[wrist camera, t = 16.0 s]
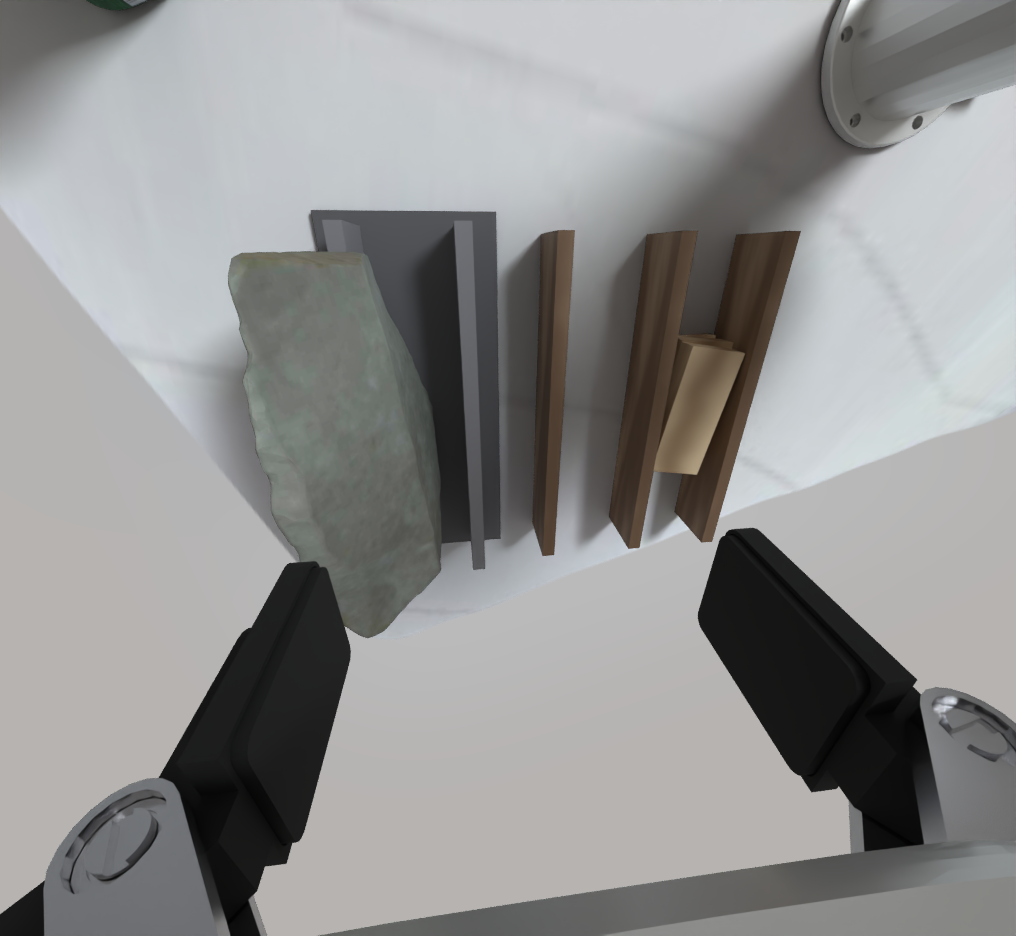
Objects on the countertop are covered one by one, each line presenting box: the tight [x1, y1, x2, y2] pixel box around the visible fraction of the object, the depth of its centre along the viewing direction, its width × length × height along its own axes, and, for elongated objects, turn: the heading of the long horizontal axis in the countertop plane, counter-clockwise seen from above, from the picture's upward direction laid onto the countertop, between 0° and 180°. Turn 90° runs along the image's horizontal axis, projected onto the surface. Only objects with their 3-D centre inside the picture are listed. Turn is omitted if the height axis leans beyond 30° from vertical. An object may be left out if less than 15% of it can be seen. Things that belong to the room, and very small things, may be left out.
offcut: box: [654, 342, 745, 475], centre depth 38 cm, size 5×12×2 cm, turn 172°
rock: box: [228, 251, 442, 638], centre depth 30 cm, size 27×6×20 cm, turn 4°
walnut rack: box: [532, 230, 801, 556], centre depth 39 cm, size 19×29×6 cm, turn 0°
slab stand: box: [311, 210, 501, 570], centre depth 36 cm, size 14×32×7 cm, turn 0°
